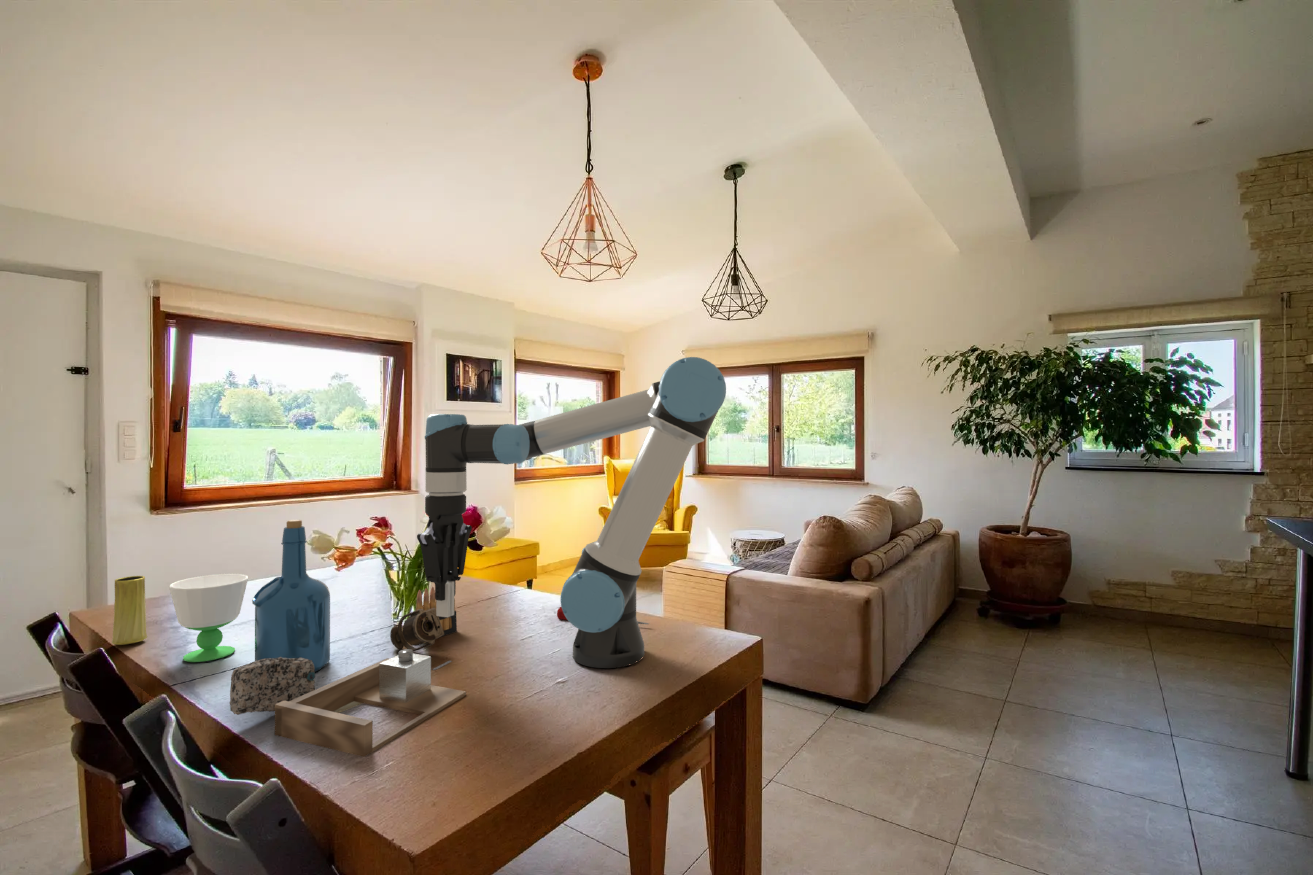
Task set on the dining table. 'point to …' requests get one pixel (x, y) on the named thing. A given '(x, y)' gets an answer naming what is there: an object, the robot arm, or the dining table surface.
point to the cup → (208, 610)
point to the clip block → (404, 676)
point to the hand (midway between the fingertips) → (445, 615)
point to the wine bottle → (293, 608)
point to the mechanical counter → (417, 630)
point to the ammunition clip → (446, 622)
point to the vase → (129, 610)
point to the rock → (270, 683)
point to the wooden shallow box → (326, 727)
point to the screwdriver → (562, 617)
